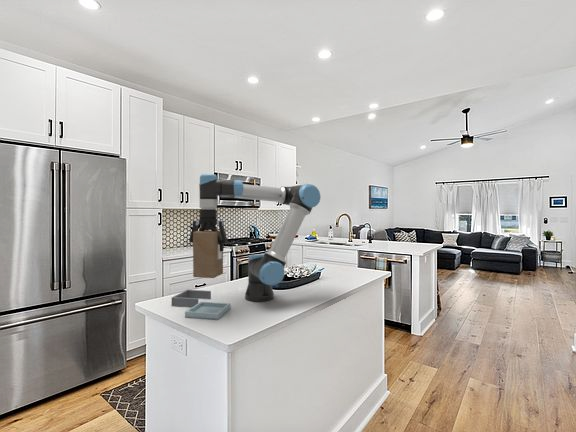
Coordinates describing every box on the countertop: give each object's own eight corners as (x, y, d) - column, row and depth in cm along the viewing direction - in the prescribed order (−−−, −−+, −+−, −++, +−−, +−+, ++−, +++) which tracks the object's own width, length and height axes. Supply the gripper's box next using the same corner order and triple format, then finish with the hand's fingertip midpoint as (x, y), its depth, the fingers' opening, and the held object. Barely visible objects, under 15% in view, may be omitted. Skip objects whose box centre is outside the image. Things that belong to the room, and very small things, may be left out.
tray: (230, 308, 146) (230, 303, 146) (217, 319, 131) (217, 314, 131) (200, 306, 149) (200, 301, 149) (185, 317, 134) (184, 311, 134)
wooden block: (214, 278, 134) (213, 232, 133) (192, 277, 136) (192, 231, 135) (223, 273, 144) (223, 230, 143) (203, 272, 146) (203, 230, 145)
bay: (210, 298, 162) (210, 290, 162) (197, 307, 148) (197, 299, 147) (187, 297, 165) (187, 289, 165) (171, 305, 150) (171, 297, 150)
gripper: (235, 208, 141) (235, 257, 141) (189, 208, 145) (189, 256, 145) (229, 209, 133) (229, 260, 134) (180, 208, 137) (181, 258, 138)
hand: (208, 258), depth 139 cm, fingers closed on wooden block, 10 cm apart
